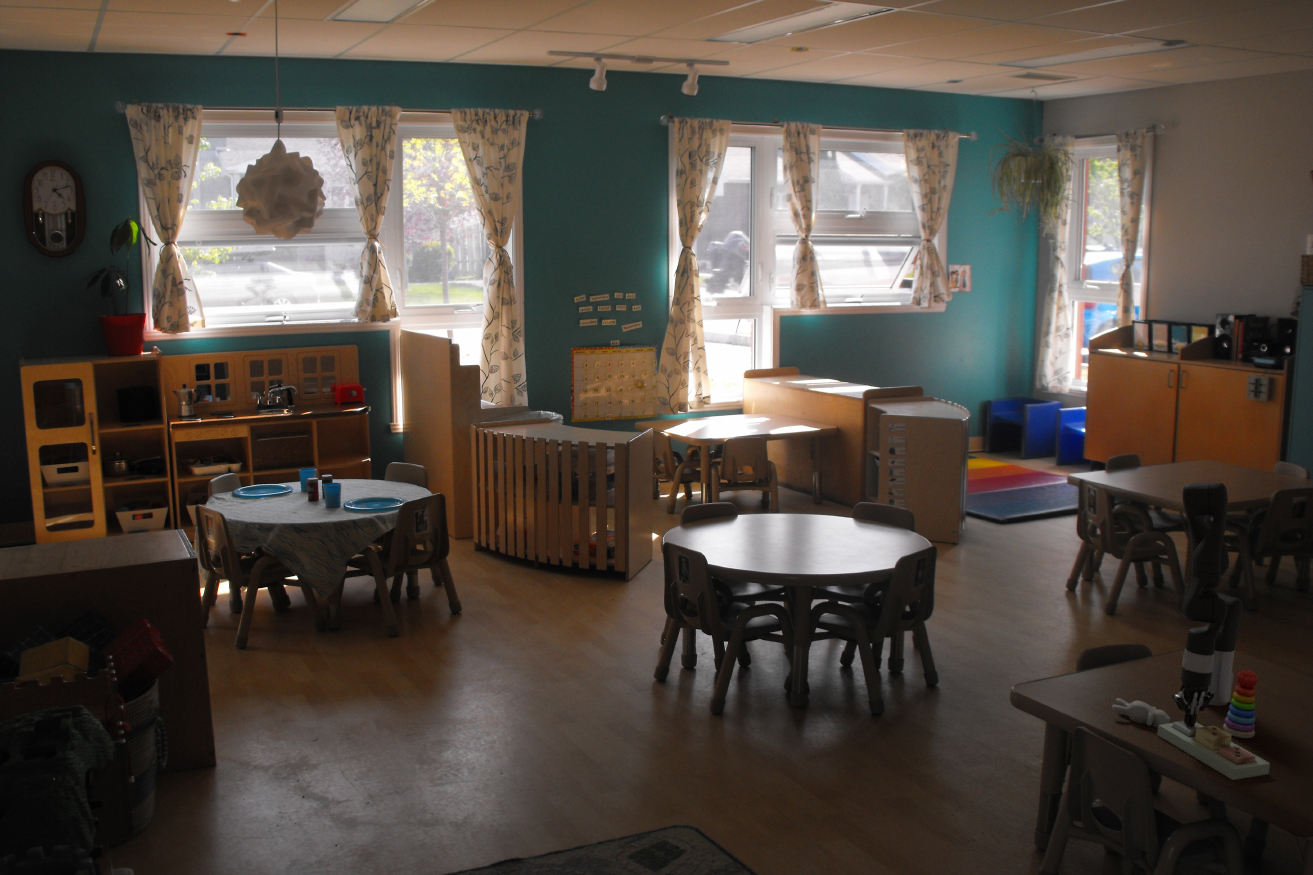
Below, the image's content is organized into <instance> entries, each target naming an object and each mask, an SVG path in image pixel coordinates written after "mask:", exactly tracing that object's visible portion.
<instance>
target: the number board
mask: <svg viewBox="0 0 1313 875" xmlns="http://www.w3.org/2000/svg"><path fill="white" fill-rule="evenodd" d="M1196 723H1197V724H1199V725H1200V726H1202V727H1205V726H1203V725H1202V724H1200V723H1198V722H1197V721H1196ZM1172 727H1173V722H1169V724H1162V725H1158V728H1157V733H1156V734H1157V736H1158V737H1160V738H1161V739H1163V740H1164V741H1167V742H1168V743H1170V744H1172V745H1173V746H1175V747H1176V748H1178V749H1181V750H1182V751H1183V752H1185V753H1187V754H1188V755H1190V756H1191V757H1193V758H1195V759H1197V760H1198V761H1200V762H1202V763H1204V764H1205V765H1207V766H1208V767H1211V768H1212V769H1213V770H1215V771H1217V772H1219V773H1221V775H1223V776H1225V777H1227V778H1229V779H1230V780H1232V781H1236V780H1240V779H1242V780H1243V779H1248V778H1252V777H1259V776H1265V775H1266V776H1267V775H1269V774H1270V773H1269V772H1270V766H1271V763H1270V762H1269V761H1267V760H1264V759H1263V758H1261V757H1260V756H1258V755H1256V754H1254V753H1252V752H1250V751H1248V750H1247V749H1245V748H1243V747H1241V746H1240V745H1238V744H1236V743H1234V742H1233V741H1231V744H1230V747H1232V746H1238V747H1240V748H1242V749H1244V750H1245V751H1247V752H1249V753H1251V754H1253V755H1254V756H1256V757H1255V762H1254V763H1248V764H1242V765H1236V764H1234V763H1232V762H1231V761H1229V760H1227V759H1225V758H1224V757H1222V756H1220V755H1218V753H1219V750H1216V751H1212V750H1210V749H1208V748H1206V747H1205V746H1203V745H1201V744H1199V743H1198V742H1196V741H1195V737H1190V738H1189V737H1187V736H1186V735H1184V734H1182V733H1180V732H1179V731H1177V730H1175V729H1173V728H1172Z"/></svg>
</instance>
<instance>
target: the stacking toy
mask: <svg viewBox="0 0 1313 875" xmlns="http://www.w3.org/2000/svg"><path fill="white" fill-rule="evenodd" d="M1236 680H1237V683H1238V684H1236V686H1235V688H1234V689H1235V691H1234V692H1233V694H1232V698H1231V699H1230V703H1231V704H1230V705H1229V706H1228V708H1229V710H1228V712H1227V713H1226V715H1227V716H1226V717H1225V718H1224V723H1223V725H1222V730H1223V731H1225V732H1227V733H1229V734H1231V735H1232V737H1236V738H1241V739H1251V738H1254V737H1255V734H1256V732H1255V731H1256V730H1255V728H1256V727H1255V726H1256V725H1255V722H1256V716H1255V715H1256V710H1255V709H1256V703H1255V701H1256V697H1255V696H1254V695H1256V689H1255V687H1256V685H1257V684H1258V680H1259V679H1258V676H1257V674H1256V673H1255V672H1254V671H1252V670H1249V669H1242V670H1240V671H1239V672H1238V673H1237V676H1236Z"/></svg>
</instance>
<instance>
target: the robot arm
mask: <svg viewBox="0 0 1313 875" xmlns="http://www.w3.org/2000/svg"><path fill="white" fill-rule="evenodd" d="M1181 493H1182V504H1183V508H1184V513H1185V517H1186V520H1187V526H1188V528H1189V529H1188V530H1189V533H1190V541H1191V550H1192V558H1191V579H1190V586H1189V590H1188V593H1187V595H1186V598H1185V601H1184V603H1183V608H1182V609H1183V614H1184V617H1185V618H1186V619H1188V620H1189V621H1192V622H1199V623H1200V622H1201V623H1207V624H1206V625H1204V626H1199V627H1192V628H1189V629H1188V631H1187V634H1186V641H1185V648H1184V652H1183V656H1182V663H1181V664H1182V665H1181V671H1180V681H1181V686H1180V688H1179V692H1178V693H1177V694H1176V693H1173V694H1172V696H1171V697H1172V699H1173V701H1174V703H1175V704H1176V706H1177V708H1178V709H1179V710H1180V711H1182V712H1184V717H1183V721H1184V723H1185V724H1186V725H1187V726H1189V727H1191V726H1195V723H1196V722H1197V718H1198V714H1199V713H1200V712H1203V711H1205V710H1206V708H1207V706H1208V705H1209V706H1215V707H1222V706H1227V704H1228V703H1231V696H1232V689H1233V682H1234V675H1235V674H1234V671H1233V664H1234V656H1235V650H1236V645H1237V641H1238V636H1239V629H1240V625H1241V622H1242V620H1241V619H1242V616H1243V610H1244V609H1243V608H1244V607H1243V602H1242V600H1241V599H1239V598H1237V597H1234V596H1231V595H1226V594H1223V593H1219V592H1217V591H1216V589H1217V588H1219V587H1220V585H1221V578H1223V576H1224V575H1225V574H1226V572H1227V571H1228V569H1229V568H1230V558H1229V556H1230V555H1229V549H1228V546H1227V542H1226V541H1225V540H1224V535H1225V528H1226V522H1227V516H1228V515H1227V514H1228V505H1229V503H1228V502H1229V498H1228V497H1229V496H1228V490H1227V487H1226V485H1225V484H1224V483H1223V482H1189V483H1186V484H1185V485H1184V486H1183V489H1182V492H1181ZM1203 516H1213V517H1212V523H1211V525H1209V524H1208V523H1207V521H1205V519H1204V517H1203ZM1221 628H1222V629H1221ZM1220 630H1221V631H1220Z"/></svg>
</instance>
